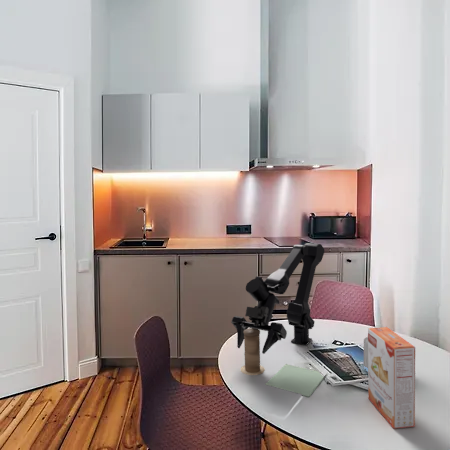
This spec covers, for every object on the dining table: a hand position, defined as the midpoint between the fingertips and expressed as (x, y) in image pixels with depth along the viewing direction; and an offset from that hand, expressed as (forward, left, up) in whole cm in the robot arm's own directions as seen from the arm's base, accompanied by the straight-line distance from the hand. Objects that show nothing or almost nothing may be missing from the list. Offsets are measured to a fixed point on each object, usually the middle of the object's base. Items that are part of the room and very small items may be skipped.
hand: (250, 350), depth 127 cm
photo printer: (-22, +35, -7) cm, 42 cm away
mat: (-2, +15, -7) cm, 17 cm away
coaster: (-1, 0, -7) cm, 7 cm away
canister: (-1, 0, -7) cm, 7 cm away
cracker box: (+3, +43, -7) cm, 44 cm away
